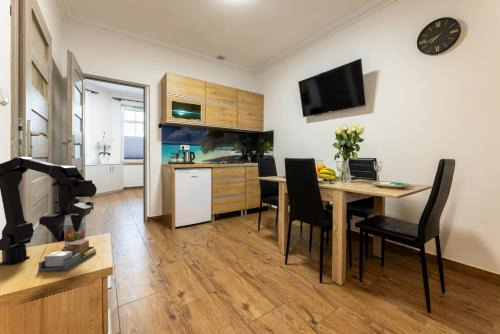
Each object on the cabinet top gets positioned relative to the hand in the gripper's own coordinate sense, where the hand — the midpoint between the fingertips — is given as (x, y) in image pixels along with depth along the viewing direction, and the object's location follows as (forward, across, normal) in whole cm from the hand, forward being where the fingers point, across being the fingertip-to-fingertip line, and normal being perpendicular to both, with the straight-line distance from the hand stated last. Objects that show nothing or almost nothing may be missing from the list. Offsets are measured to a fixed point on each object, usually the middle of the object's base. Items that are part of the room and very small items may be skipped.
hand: (68, 235), depth 86 cm
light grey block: (+9, -4, 0) cm, 10 cm away
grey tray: (+11, +1, 0) cm, 11 cm away
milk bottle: (+11, +19, +12) cm, 25 cm away
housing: (+10, +5, 0) cm, 11 cm away
